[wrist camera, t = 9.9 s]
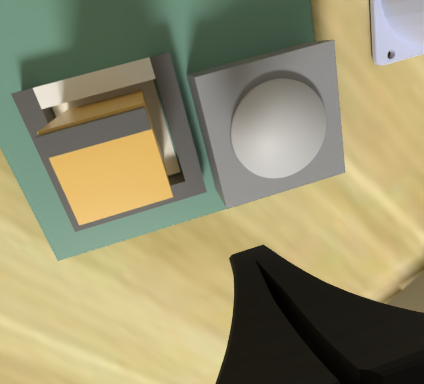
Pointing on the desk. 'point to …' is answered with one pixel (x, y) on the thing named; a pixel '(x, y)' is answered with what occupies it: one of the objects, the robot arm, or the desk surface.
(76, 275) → the desk surface
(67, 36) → the board
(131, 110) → the plug
